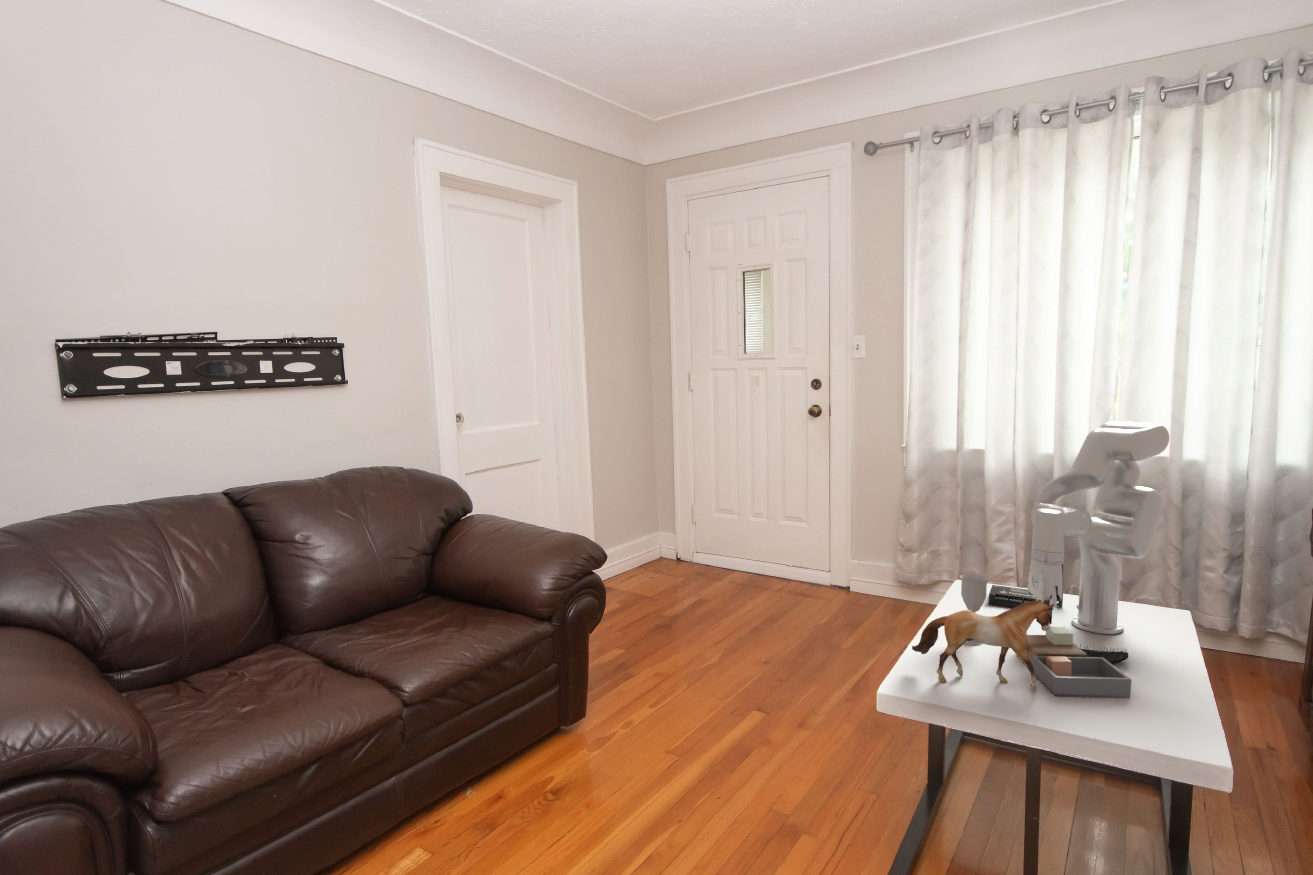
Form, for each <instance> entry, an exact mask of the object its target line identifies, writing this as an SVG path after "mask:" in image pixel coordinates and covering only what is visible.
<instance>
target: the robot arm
mask: <svg viewBox="0 0 1313 875" xmlns="http://www.w3.org/2000/svg"><path fill="white" fill-rule="evenodd" d="M1169 443H1170V433H1169V431H1168V429H1167V428H1166V427H1165V425H1162V424H1161V423H1160V424H1159V423H1152V422H1138V421H1137V422H1136V421H1122V420H1121V421H1119V420H1117V421H1116V420H1115V421H1107V422H1104V423H1103V424H1102V425H1101V426H1099V427H1098V428H1095V429H1093V430H1091V431H1090V432H1088V434H1087V436H1086V437H1085V439H1084V441H1083V442H1082V445H1081V447H1080V450H1079V452H1078V453H1077V455H1076V458H1075V460H1074V461H1073V463H1072V466H1071V468H1070V469H1069V470H1068V471H1066V472H1064V473H1062V474H1061V475H1058V476H1057V477H1055V478H1054V479H1052V480H1051V481H1050V482H1048V483H1046V485H1045V486H1043V488H1042V489H1041V491H1040V492H1039V494H1038V496H1037V498H1036V500H1035V501H1034V504H1033V507H1032V509H1031V511H1030V520H1031V523H1032V540H1031V557H1030V558H1031V561H1030V564H1029V571H1028V581H1027V590H1028V591H1029V592H1030V593H1031V594H1033V595H1034V596H1035V597H1036V600H1037V601H1041V602H1043V603H1044V602H1047V601H1051V602H1050V603H1049V604H1048V605H1052V604H1054V606H1053V607H1051V613H1052V614H1053V611H1054V608H1058V606H1057V603H1058V602H1059V601H1061V598H1062V586H1063V587H1064V583H1063V579H1062V565H1061V564H1063V565H1064V561H1065V560H1064V559H1065V548H1066V547H1065V546H1066V545H1065V544H1066V536H1068V537H1069V536H1070V537H1071V536H1072V537H1078V544H1079V550H1080V571H1079V590H1078V604H1077V605H1076V609H1077V612H1078V613H1077V615H1074V616H1073V617H1071V624H1072V625H1073V626H1075V627H1076V628H1078V629H1080V630H1083V631H1086V632H1089V633H1096V634H1103V635H1116V634H1120V633H1122V632H1124V625H1123V624H1122V623H1121V622H1120V621H1118V613H1119V612H1118V609H1119V596H1120V577H1121V568H1120V565H1119V561H1118V560H1117V558H1116V556H1119V557H1124V558H1129V559H1136V560H1137V559H1138V560H1139V559H1143V558H1145V557H1146V556H1147V555H1148V554H1149V552H1150V550H1151V548H1152V545H1153V542H1154V538H1155V535H1156V532H1157V530H1158V526H1159V523H1160V520H1161V516H1162V513H1163V505H1164V503H1163V498H1162V495H1161V494H1160V492H1159V491H1158V490H1156V489H1154V488H1151V487H1145V486H1141V485H1139V486H1138V483H1139V480H1140V475H1141V469H1140V467H1139V464H1138V462H1140V461H1141V462H1142V461H1144V460H1147V459H1150V458H1153V457H1155V456H1157V455H1160V454H1161V453H1163V452H1164V451H1165V450H1166V448H1167V447H1168V445H1169ZM1097 488H1098V490H1097V493H1096V496H1095V499H1094V500H1095V501H1094V507H1095V509H1096V511H1097V512H1099V513H1100V514H1102V515H1106V516H1110V517H1115V518H1120V519H1126V520H1131V521H1132V522H1128V521H1127V522H1126V521H1123V520H1118V519H1112V518H1107V517H1106V518H1105V517H1098V516H1097V517H1096V516H1095V517H1094V516H1093V517H1092V516H1091V514H1090V513H1089V512H1088V511H1087V510H1085V509H1084V508H1080V507H1076V506H1070V505H1065V504H1064V505H1063V504H1059V503H1058V501H1060V500H1061V499H1064V497H1066V496H1070V495H1071V494H1075V493H1079V492H1082V491H1083V492H1084V491H1087V490H1091V489H1097ZM1052 620H1053V615H1052V616H1051V617H1050V619H1049V623H1050V625H1051V624H1053V623H1052V622H1053V621H1052ZM1035 621H1036V623H1038V624H1039V625H1040V623H1039V622H1038V621H1037V619H1036V620H1035Z"/></svg>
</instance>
